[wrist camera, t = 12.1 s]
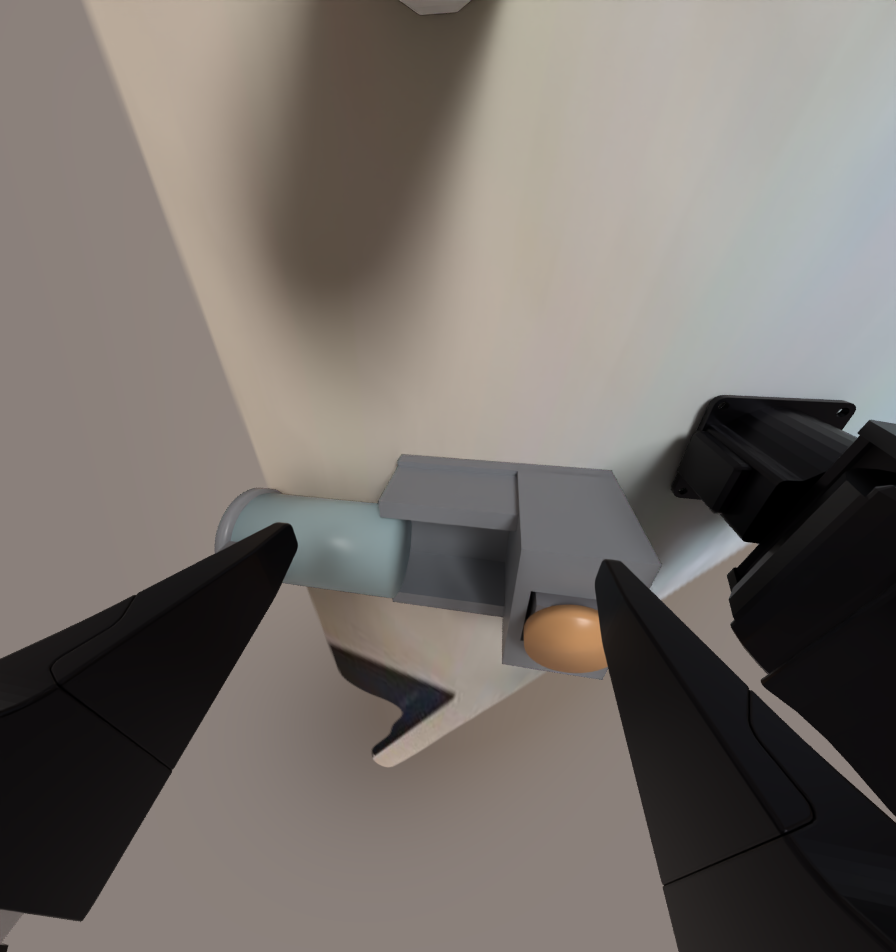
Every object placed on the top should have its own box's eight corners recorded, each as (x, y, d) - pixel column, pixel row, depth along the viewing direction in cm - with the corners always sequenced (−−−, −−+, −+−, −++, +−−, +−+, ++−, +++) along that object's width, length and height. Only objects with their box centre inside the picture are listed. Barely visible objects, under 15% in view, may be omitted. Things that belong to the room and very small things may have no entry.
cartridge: (409, 483, 22) (351, 607, 14) (414, 550, 26) (370, 681, 18) (269, 470, 24) (140, 576, 15) (292, 536, 27) (197, 651, 19)
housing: (611, 470, 21) (661, 565, 14) (577, 575, 26) (602, 680, 19) (401, 454, 22) (356, 530, 16) (410, 555, 28) (379, 644, 21)
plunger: (611, 560, 18) (635, 627, 14) (591, 611, 20) (607, 679, 17) (526, 551, 18) (530, 613, 15) (517, 602, 21) (518, 665, 17)
